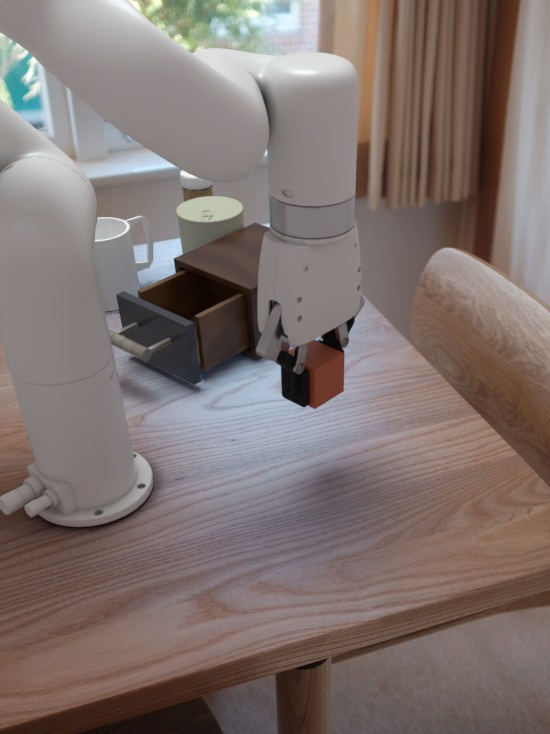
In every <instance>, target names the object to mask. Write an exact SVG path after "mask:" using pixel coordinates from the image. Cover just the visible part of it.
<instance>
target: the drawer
mask: <svg viewBox="0 0 550 734" xmlns="http://www.w3.org/2000/svg"><path fill="white" fill-rule="evenodd" d="M137 292H138V297H136V296H133V295H131V294H129V293H127V292H124V291H123V292H120V293H118V294H116V297H117V302H118V308H119V310H118V312H119V318H120V322H121V323H120V324H121V328H120V329H118V330H115V331H114V330H111V329H109V333H110V339H111V344H112V347H116V348H117V349H120V350H122V352H126V353H127V354H129V355H132V356H134V357H135V358H138V359H140V360H142V361H143V362H146V363H149V364H151V365H153V366H155V367H157V368H158V369H161V370H163V371H165V372H167V373H168V374H171V375H173V376H175V377H176V378H178V379H181V380H183V381H184V382H187V383H189V384H191V385H193V386H196V385H197V384H199V383H201V382H202V375H201V371H203V372H207V371H210V370H211V369H213V368H215V367H217V366H218V365H220V364H222V363H224V362H226V361H227V360H230V359H231V358H233V357H236V355H238V354H240V352H242V351H244V350H246V349H247V348H249V347H251V344H250V332H249V320H248V309H247V297H246V294H245V293H243V292H240V291H238V290H235V289H233V288H230V287H228V286H225V285H223V284H221V283H218V282H216V281H213V280H211V279H208V278H206V277H203V276H201V275H198V274H196V273H193V272H191V271H188V270H186V269H184V270H182V271H180V272H177V273H176V272H175V273H173V274H171V275H168V276H167V277H164V278H162V279H160V280H157V281H155V282H154V283H151V284H149V285H147V286H145V287H142V288H140V290H138V291H137Z"/></svg>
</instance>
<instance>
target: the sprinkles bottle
mask: <svg viewBox="0 0 550 734" xmlns="http://www.w3.org/2000/svg"><path fill="white" fill-rule="evenodd" d="M179 182H180V186H181V189H182V196H183V197H182V198H183V202H185V201H188V200H191V199H194V198H199V197H206V196H214V193H213V185H214V182H213V181H207V180H204V179H201V178H198V177H195V176H193V175H191V174H189V173H187V172H185V171H183V170H180V172H179Z"/></svg>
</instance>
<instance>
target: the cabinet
mask: <svg viewBox="0 0 550 734" xmlns="http://www.w3.org/2000/svg"><path fill="white" fill-rule="evenodd" d="M269 230H270V226H266V225H263V224H260V223H258V222H253V223H251V224H249V225H246V226H244V228H242V229H239V230H237V231H235V232H233V233H230V234H228V235H226V236H223V237H221V238H219V239H217V240H214V241H212V242H210V243H208V244H205V245H203V246H201V247H198V248H196V249H194V250H192V251H189V252H187V253H185V254H181V255H178V256H176V257H173V264H174V270H175V273H177V272H180V271H182V270H184V269H186V270H188V271H191V272H193V273H196V274H198V275H201V276H203V277H206V278H208V279H211V280H213V281H216V282H218V283H221V284H223V285H225V286H228V287H230V288H233V289H235V290H238V291H240V292H243V293H245V294H246V297H247V309H248V320H249V332H250V344H251V347H249V348H247V349H246V350H244V351H242V352H240V353H239V354H241V355H242V356H245V357H247V358H249V359H251V360H254V361H256V362H257V361H259V360H261V359H263V358H264V357H262V356H260V355H258V354H257V353H256V347H257V345H258V343H259V340H260V338H261V335H262V333H260V331H259V328H258V312H257V295H258V272H259V261H260V254H261V247H262V242H263V237H264V233H266V232H267V231H269Z"/></svg>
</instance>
